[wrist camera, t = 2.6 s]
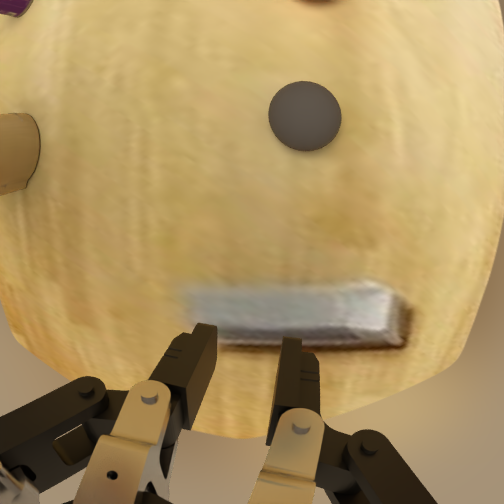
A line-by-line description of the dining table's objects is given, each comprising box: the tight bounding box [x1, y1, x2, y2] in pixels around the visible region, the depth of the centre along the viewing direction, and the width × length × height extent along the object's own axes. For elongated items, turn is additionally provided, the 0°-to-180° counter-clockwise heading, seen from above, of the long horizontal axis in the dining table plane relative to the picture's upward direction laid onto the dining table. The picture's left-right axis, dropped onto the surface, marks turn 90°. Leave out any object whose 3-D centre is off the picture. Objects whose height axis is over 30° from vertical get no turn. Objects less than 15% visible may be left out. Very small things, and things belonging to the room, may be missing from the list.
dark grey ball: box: [268, 81, 341, 151], centre depth 21 cm, size 6×6×6 cm
